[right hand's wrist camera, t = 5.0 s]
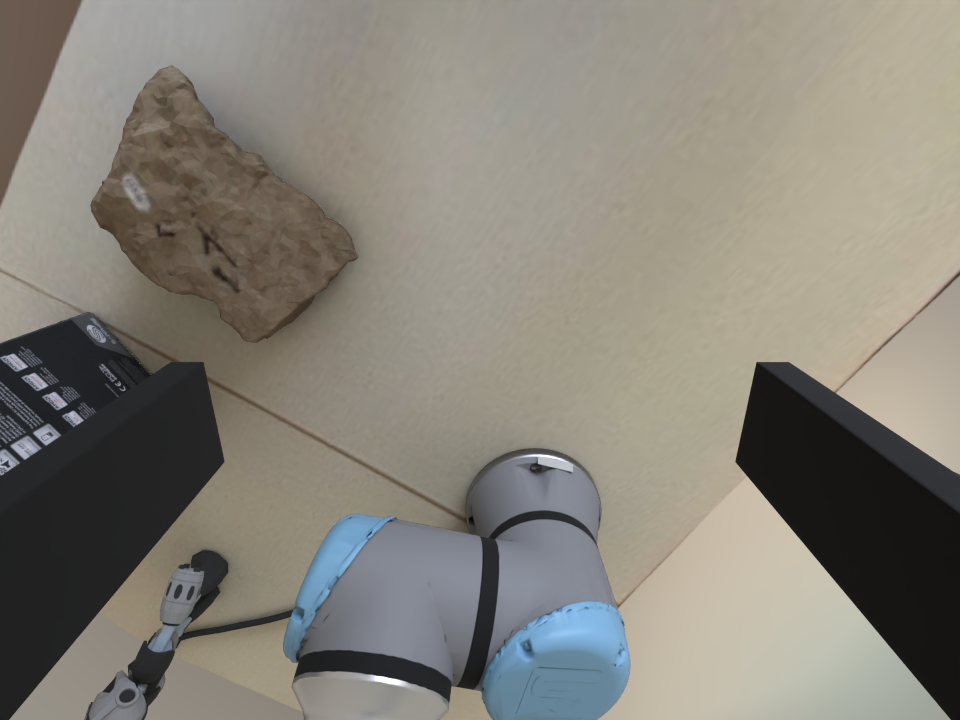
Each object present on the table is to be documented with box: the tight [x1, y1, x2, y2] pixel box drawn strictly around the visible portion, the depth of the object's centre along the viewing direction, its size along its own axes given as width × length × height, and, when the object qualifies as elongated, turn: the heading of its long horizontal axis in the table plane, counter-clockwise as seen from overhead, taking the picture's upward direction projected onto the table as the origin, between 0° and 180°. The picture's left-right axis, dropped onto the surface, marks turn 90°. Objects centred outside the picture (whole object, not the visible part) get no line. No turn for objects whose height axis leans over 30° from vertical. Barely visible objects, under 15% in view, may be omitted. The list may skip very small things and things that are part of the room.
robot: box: [84, 551, 228, 720], centre depth 54 cm, size 20×5×20 cm, turn 154°
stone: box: [90, 65, 358, 343], centre depth 46 cm, size 21×15×6 cm
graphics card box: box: [0, 312, 150, 476], centre depth 41 cm, size 17×7×27 cm, turn 33°
